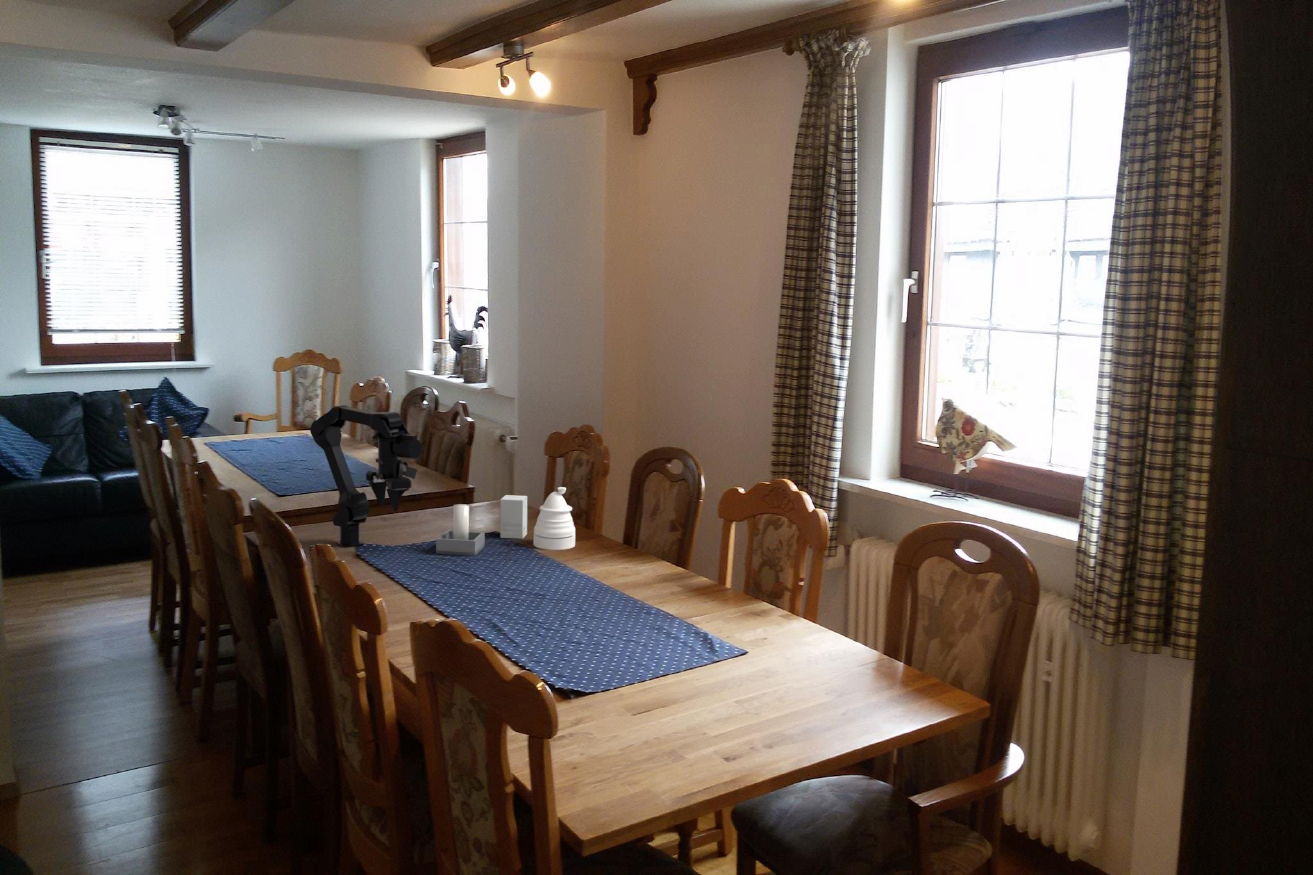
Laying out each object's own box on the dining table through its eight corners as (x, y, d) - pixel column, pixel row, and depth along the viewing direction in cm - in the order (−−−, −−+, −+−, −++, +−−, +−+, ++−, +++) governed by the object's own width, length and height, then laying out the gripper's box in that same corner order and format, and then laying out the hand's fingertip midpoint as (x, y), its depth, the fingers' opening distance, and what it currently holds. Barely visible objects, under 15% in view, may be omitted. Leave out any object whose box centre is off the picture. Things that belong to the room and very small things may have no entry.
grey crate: (436, 553, 309) (436, 538, 309) (447, 544, 321) (447, 530, 320) (474, 556, 308) (475, 541, 308) (484, 546, 320) (484, 532, 319)
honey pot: (578, 541, 331) (579, 485, 329) (571, 550, 319) (572, 492, 316) (538, 538, 333) (539, 482, 330) (529, 548, 320) (530, 490, 318)
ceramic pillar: (449, 547, 313) (450, 506, 312) (458, 544, 318) (459, 503, 316) (462, 549, 311) (463, 507, 310) (471, 546, 316) (472, 505, 314)
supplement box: (527, 534, 338) (528, 495, 337) (522, 539, 331) (523, 499, 329) (505, 532, 339) (505, 494, 337) (499, 538, 332) (500, 498, 330)
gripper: (428, 458, 304) (428, 511, 306) (400, 449, 318) (400, 500, 320) (392, 460, 297) (392, 515, 299) (365, 452, 311) (365, 503, 313)
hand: (388, 508), depth 308 cm, fingers open, 9 cm apart
